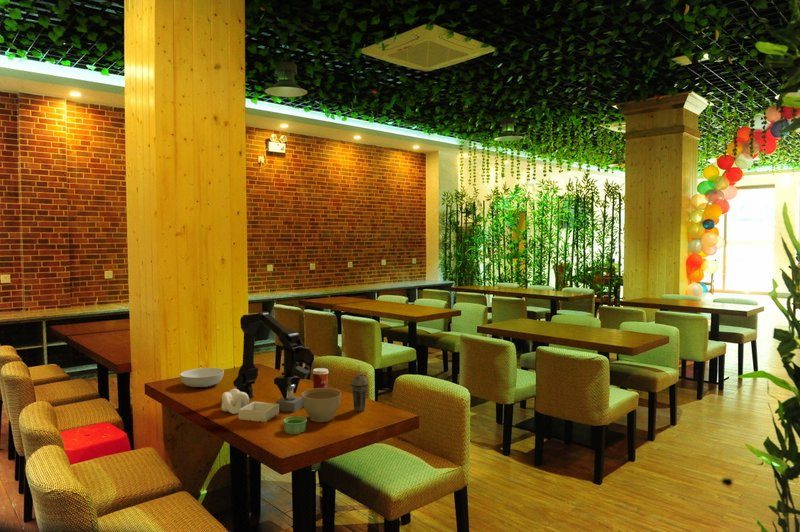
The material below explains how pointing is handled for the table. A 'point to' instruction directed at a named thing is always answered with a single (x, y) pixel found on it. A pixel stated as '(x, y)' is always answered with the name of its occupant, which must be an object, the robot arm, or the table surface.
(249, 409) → the tray
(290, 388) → the pin
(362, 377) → the beverage cup
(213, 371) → the serving bowl
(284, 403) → the block
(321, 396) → the planter bowl
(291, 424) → the ramekin
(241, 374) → the robot arm
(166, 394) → the table surface
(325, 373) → the paper cup
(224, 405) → the white knot sculpture
